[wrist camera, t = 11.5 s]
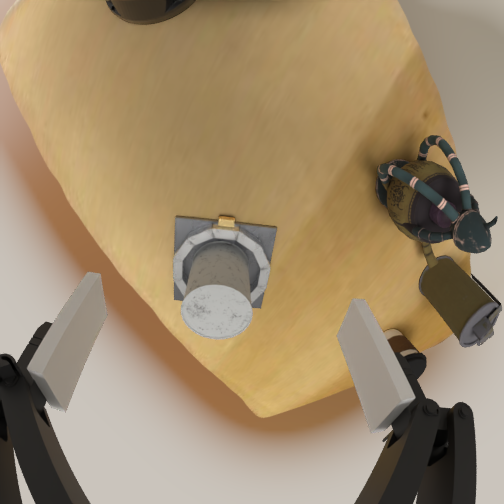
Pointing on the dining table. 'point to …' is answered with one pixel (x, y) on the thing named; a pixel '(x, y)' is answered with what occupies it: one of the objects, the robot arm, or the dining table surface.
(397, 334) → the coffee cup
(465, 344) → the canister
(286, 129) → the dining table surface
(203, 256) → the grey speckled cylinder
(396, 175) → the teapot
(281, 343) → the dining table surface
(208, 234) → the socket
